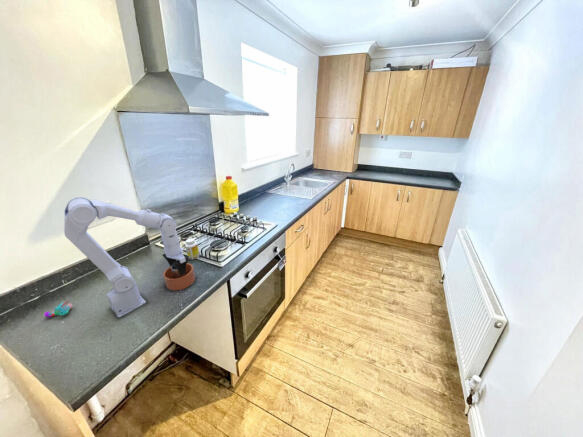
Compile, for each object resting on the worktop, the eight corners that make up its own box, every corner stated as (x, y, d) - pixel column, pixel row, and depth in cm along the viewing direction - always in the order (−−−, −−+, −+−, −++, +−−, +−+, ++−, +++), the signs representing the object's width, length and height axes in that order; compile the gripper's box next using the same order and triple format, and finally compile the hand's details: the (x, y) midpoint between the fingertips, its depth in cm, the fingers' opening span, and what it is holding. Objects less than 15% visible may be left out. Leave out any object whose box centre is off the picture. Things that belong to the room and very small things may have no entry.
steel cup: (178, 286, 99) (174, 271, 96) (172, 281, 102) (168, 266, 99) (189, 280, 103) (185, 265, 100) (183, 275, 106) (179, 261, 103)
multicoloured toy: (54, 296, 88) (37, 308, 82) (76, 295, 89) (61, 307, 82) (58, 308, 90) (41, 320, 83) (80, 307, 90) (65, 319, 84)
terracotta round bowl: (174, 295, 95) (171, 283, 93) (161, 283, 102) (158, 272, 100) (200, 280, 104) (198, 269, 101) (186, 270, 110) (184, 259, 108)
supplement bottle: (200, 253, 123) (197, 237, 119) (198, 259, 118) (194, 242, 114) (190, 254, 123) (186, 237, 119) (186, 260, 118) (182, 243, 114)
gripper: (189, 244, 93) (196, 272, 99) (172, 234, 102) (178, 260, 107) (172, 252, 88) (180, 280, 94) (155, 240, 97) (163, 267, 102)
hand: (178, 270), depth 100 cm, fingers open, 7 cm apart
